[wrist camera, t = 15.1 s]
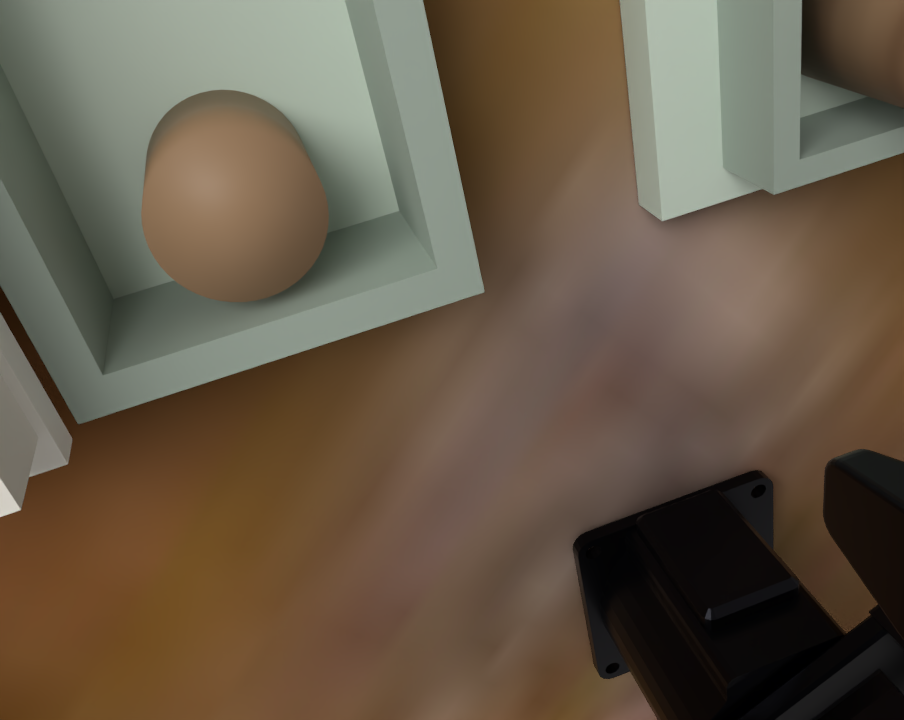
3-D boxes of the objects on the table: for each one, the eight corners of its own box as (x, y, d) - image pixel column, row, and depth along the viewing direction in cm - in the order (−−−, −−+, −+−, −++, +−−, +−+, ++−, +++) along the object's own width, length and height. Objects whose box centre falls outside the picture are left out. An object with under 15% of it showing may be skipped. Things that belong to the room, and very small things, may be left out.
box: (437, 228, 20) (484, 292, 17) (93, 335, 19) (78, 424, 16) (274, -466, 13) (303, -564, 10) (-262, -358, 12) (-402, -432, 9)
